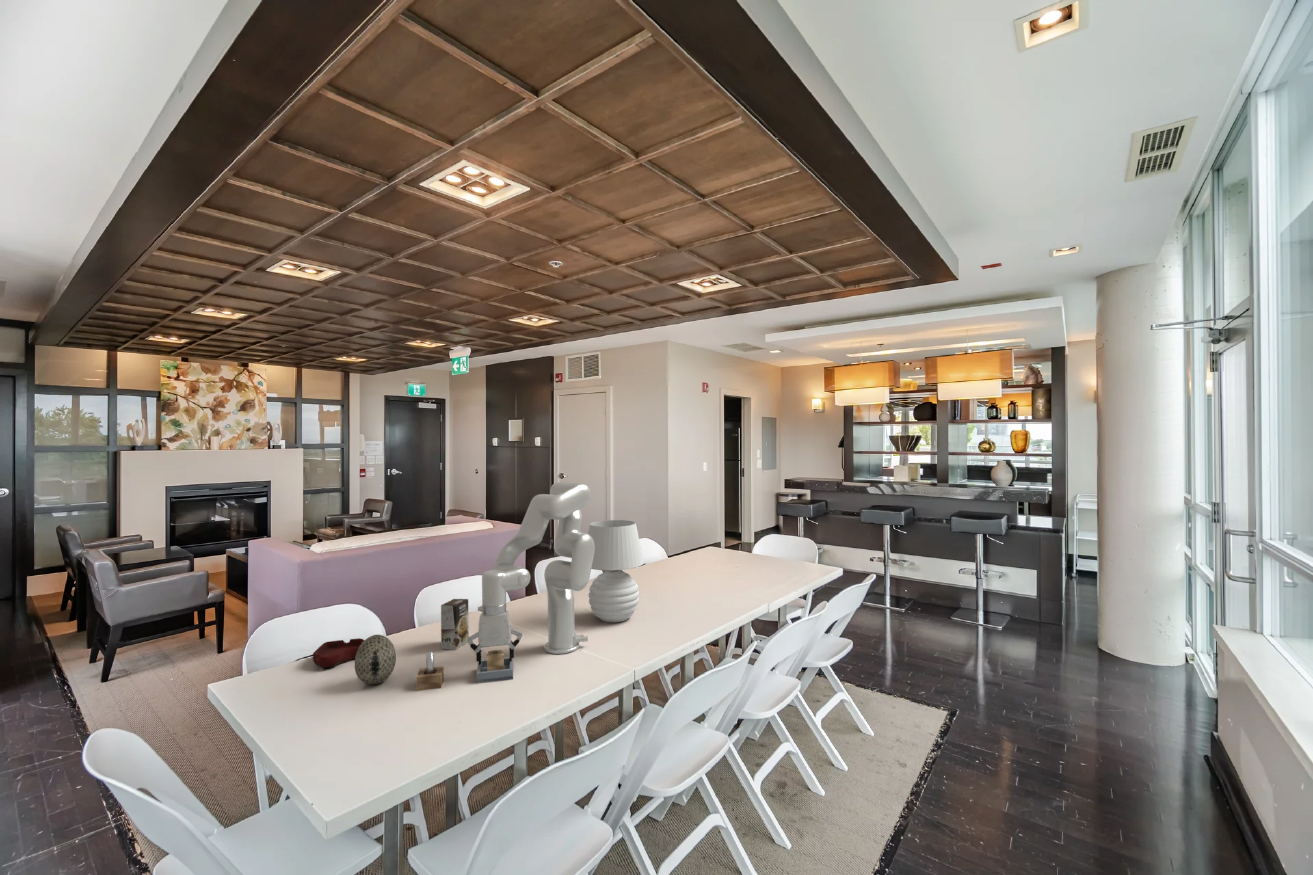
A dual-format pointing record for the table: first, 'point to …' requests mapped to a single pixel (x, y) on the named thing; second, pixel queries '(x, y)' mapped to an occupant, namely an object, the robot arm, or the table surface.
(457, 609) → the coffee box
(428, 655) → the cylinder
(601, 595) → the table lamp
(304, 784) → the table surface
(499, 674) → the tray
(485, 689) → the table surface
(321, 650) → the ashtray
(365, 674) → the decorative egg
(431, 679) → the tan wooden square frame
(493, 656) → the oak block
